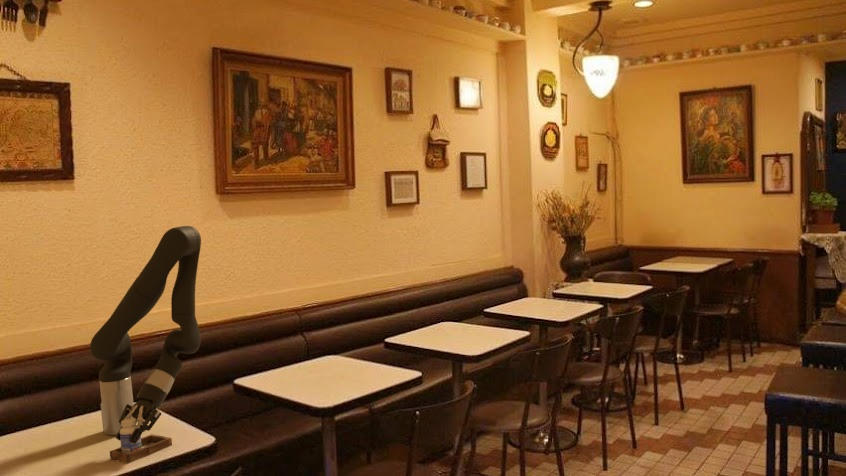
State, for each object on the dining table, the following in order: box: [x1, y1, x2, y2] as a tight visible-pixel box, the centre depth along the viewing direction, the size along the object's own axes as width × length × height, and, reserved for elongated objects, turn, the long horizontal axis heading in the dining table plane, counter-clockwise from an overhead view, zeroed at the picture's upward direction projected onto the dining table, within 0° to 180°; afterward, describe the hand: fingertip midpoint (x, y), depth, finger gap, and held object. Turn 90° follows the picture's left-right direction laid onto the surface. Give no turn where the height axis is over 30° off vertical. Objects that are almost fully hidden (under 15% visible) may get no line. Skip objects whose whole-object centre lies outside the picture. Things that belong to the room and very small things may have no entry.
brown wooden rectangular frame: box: [109, 433, 173, 464], centre depth 205 cm, size 9×15×2 cm, turn 149°
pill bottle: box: [120, 418, 143, 454], centre depth 202 cm, size 5×5×10 cm
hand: (125, 440), depth 200 cm, fingers closed on pill bottle, 5 cm apart
